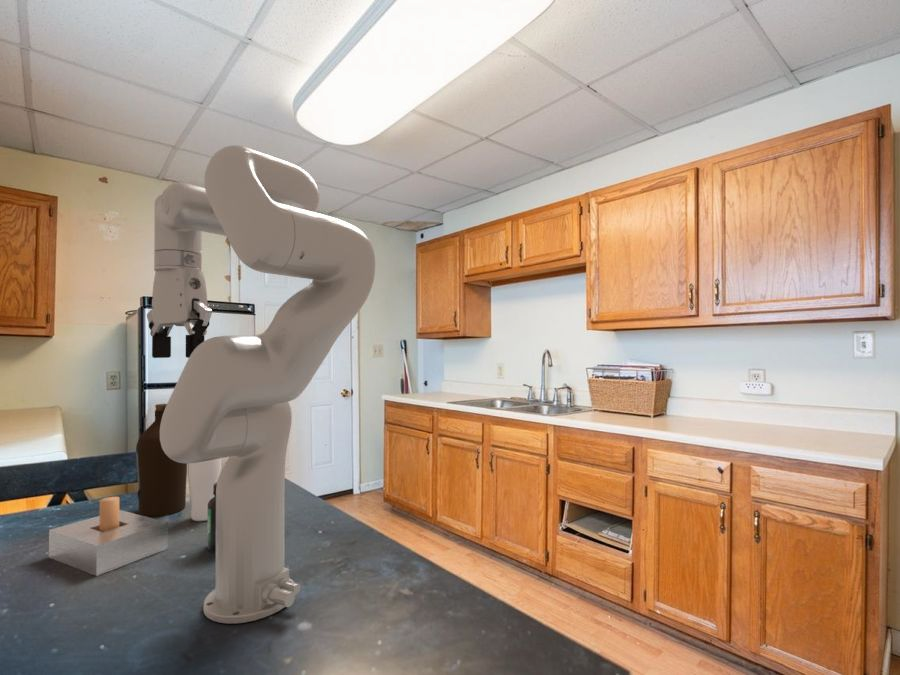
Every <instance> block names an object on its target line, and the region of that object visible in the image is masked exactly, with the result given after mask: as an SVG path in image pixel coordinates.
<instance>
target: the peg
mask: <svg viewBox="0 0 900 675" xmlns="http://www.w3.org/2000/svg"><path fill="white" fill-rule="evenodd" d="M119 510H120V497H119V496H108V497H104V498H102V499H99V516H100V523H99V531H100V532H105V531H108V530H112V529H115V528H118V527H119Z"/></svg>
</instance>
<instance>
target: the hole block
mask: <svg viewBox="0 0 900 675" xmlns="http://www.w3.org/2000/svg"><path fill="white" fill-rule="evenodd" d="M99 523H100V515H98V516H94V517H90V518H87V519H84V520H83V519H82V520H80V521H79V520H78V521H76V522H73V523H70V524H66V525H65V524H64V525H63V526H62V525H61V526H58V527H55V528H51V529H49V530H48V558H49V559H51V560H53V559H54V561H57V562H59V563H61V564H65V565H66V564H67V565H66V566H69V567H71V568H73V569H77V570H79V569H80V570H79V571H82V572H85V573H88V574H90V575H93V576H95V577H98V576H100V575H103V574H105V573H108V572H110V571H113V570H116V569H119V568H121V567H124V566H126V565H129V564H132V563H134V562H136V561H137V562H138V561H139V560H143V559H145V558H147V557H150V556H153V555H156V554H158V553H160V552H163V551H166V550H167V549H168V548H169V547H168V540H169V539H168V537H169V536H168V533H169V531H168V529H169V527H168V526H169V525H168V524H169V523H168V522H167V521H164V520H161V519H157V518H152V517H145V516H142V515H140V514H139V513H138V514H136V513H134V512H131V511H130V512H129V511H127V510H126V511H125V510H122V509H119V527H118V528H115V529H112V530H108V531H105V532H100V531H99Z"/></svg>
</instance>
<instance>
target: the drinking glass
mask: <svg viewBox="0 0 900 675" xmlns="http://www.w3.org/2000/svg"><path fill="white" fill-rule="evenodd" d="M222 459H223V458H219V459H214V460H209V461H204V462H198V463H189V464H187V479H188V487H189V488H188V489H189V490H188V491H189V500H190V501H189V502H190V517H191V520H192V521H194V522H206V521H207V507H208V503H209V501H210V500H211V499H212V498H213V497H215V495H213V486H214V484H215V483H217V482H218V479H219V476H220V473H221V471H222V464H223V463H222Z"/></svg>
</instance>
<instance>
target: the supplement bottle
mask: <svg viewBox="0 0 900 675" xmlns="http://www.w3.org/2000/svg"><path fill="white" fill-rule="evenodd" d="M216 487H217V483H215V484H214V486H213V495H215V497H213V498H212V499H211V500H210V501H209V503H208V507H207V520H206V521H207V523H206V524H207V526H206V528H207V531H206V532H207V537H206V539H207V540H206V541H207V546H206V547H207V550H209V551H210V552H212V553H216Z"/></svg>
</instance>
